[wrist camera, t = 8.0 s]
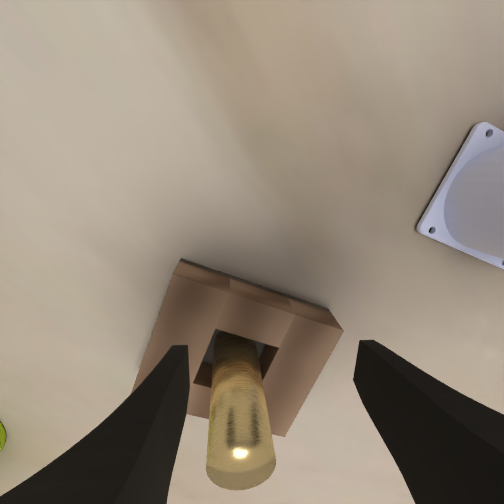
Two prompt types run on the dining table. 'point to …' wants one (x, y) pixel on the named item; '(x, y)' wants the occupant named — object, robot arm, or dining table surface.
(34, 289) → the dining table surface
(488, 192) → the robot arm
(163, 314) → the walnut block
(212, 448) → the brass peg
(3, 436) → the soap dispenser
